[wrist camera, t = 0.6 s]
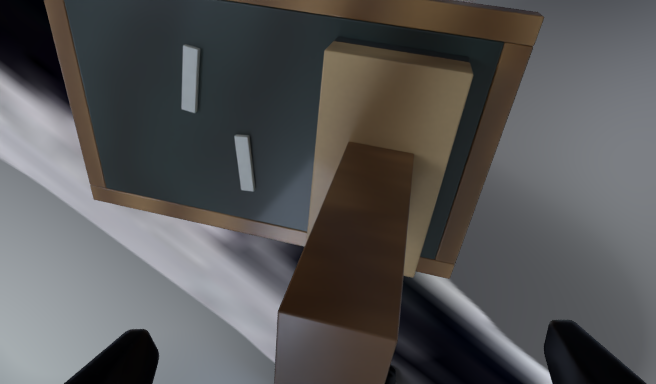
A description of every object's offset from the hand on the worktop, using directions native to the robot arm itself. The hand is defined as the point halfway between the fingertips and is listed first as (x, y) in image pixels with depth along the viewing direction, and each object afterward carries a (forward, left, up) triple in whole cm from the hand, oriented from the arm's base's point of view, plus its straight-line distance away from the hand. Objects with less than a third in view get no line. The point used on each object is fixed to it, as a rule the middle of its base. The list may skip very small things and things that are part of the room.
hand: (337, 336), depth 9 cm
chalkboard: (-1, +7, -15) cm, 16 cm away
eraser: (-2, 0, -14) cm, 14 cm away
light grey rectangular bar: (+2, +10, -14) cm, 17 cm away
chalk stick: (-3, +8, -14) cm, 16 cm away
